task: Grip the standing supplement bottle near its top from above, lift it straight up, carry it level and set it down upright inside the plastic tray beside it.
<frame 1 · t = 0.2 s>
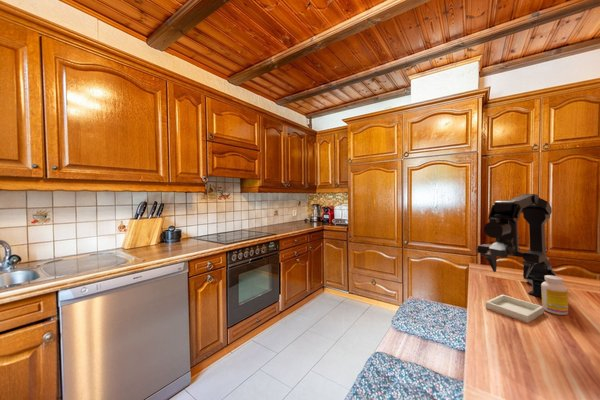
hand: (509, 275, 87), 14 cm above the table, tool pointing down, fingers open, 9 cm apart
coffee pot: (539, 281, 114), on the table
supplement bottle: (554, 311, 87), on the table
tray: (514, 310, 89), on the table
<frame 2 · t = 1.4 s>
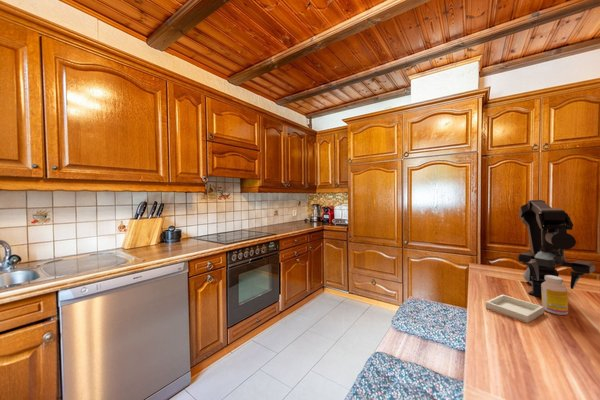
hand: (553, 284, 87), 10 cm above the table, tool pointing down, fingers open, 9 cm apart
nothing on the table moved.
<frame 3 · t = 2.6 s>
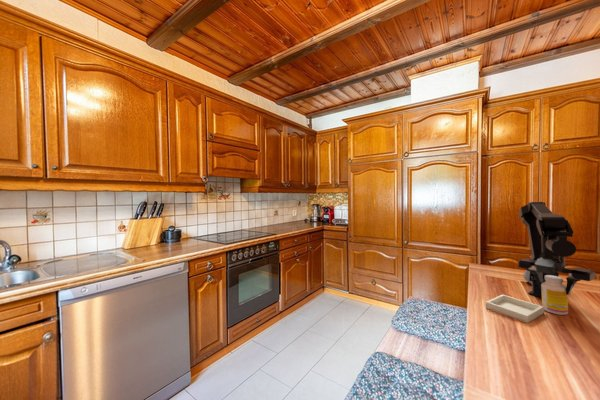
hand: (554, 291, 87), 8 cm above the table, tool pointing down, fingers closed on supplement bottle, 7 cm apart
supplement bottle: (554, 311, 87), on the table, touching gripper
everything else where it was.
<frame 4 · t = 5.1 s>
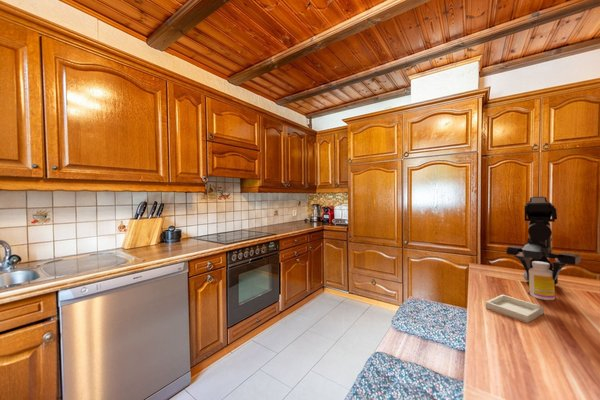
hand: (541, 276, 87), 13 cm above the table, tool pointing down, fingers closed on supplement bottle, 7 cm apart
supplement bottle: (541, 297, 87), point 5 cm above the table, touching gripper
everything else where it was.
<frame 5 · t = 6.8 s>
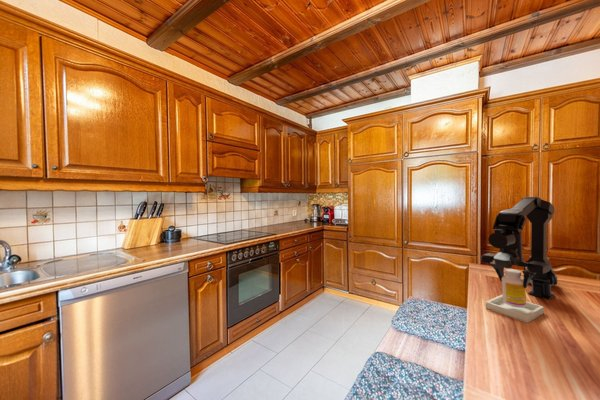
hand: (513, 284, 89), 10 cm above the table, tool pointing down, fingers closed on supplement bottle, 7 cm apart
supplement bottle: (514, 304, 89), point 2 cm above the table, touching gripper
everything else where it was.
when the fingers open (9 cm above the table, at t = 7.8 s): supplement bottle drops 1 cm, resting on tray.
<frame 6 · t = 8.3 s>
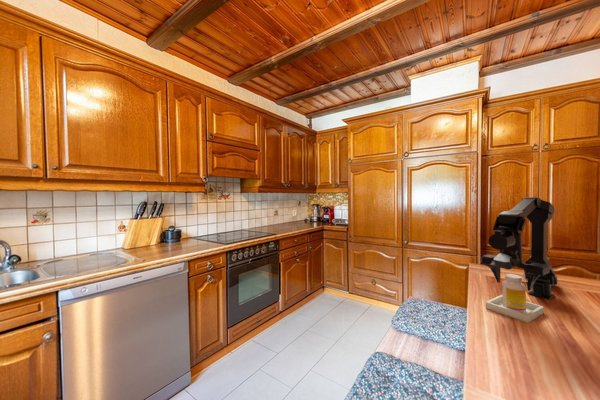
hand: (513, 286, 88), 9 cm above the table, tool pointing down, fingers open, 9 cm apart
supplement bottle: (514, 309, 89), resting on tray
everything else where it was.
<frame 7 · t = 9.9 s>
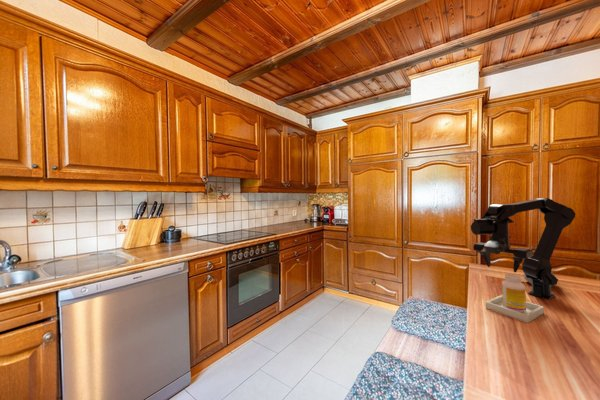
hand: (501, 269, 100), 12 cm above the table, tool pointing down, fingers open, 9 cm apart
nothing on the table moved.
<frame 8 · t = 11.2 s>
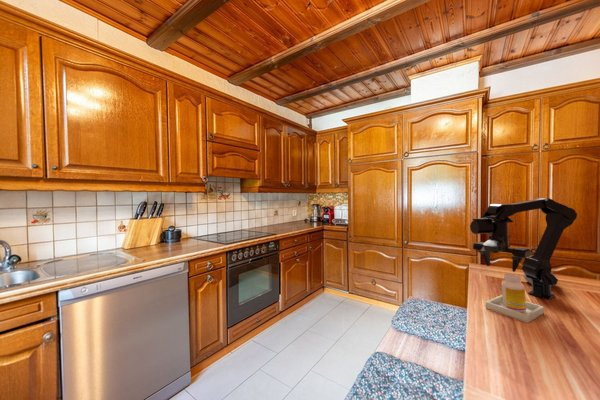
hand: (500, 268, 101), 12 cm above the table, tool pointing down, fingers open, 9 cm apart
nothing on the table moved.
at the end: supplement bottle 0.1 cm off-centre on the tray, point 0.3 cm above the tray's base; supplement bottle tilted 1°; the gripper is holding nothing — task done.
